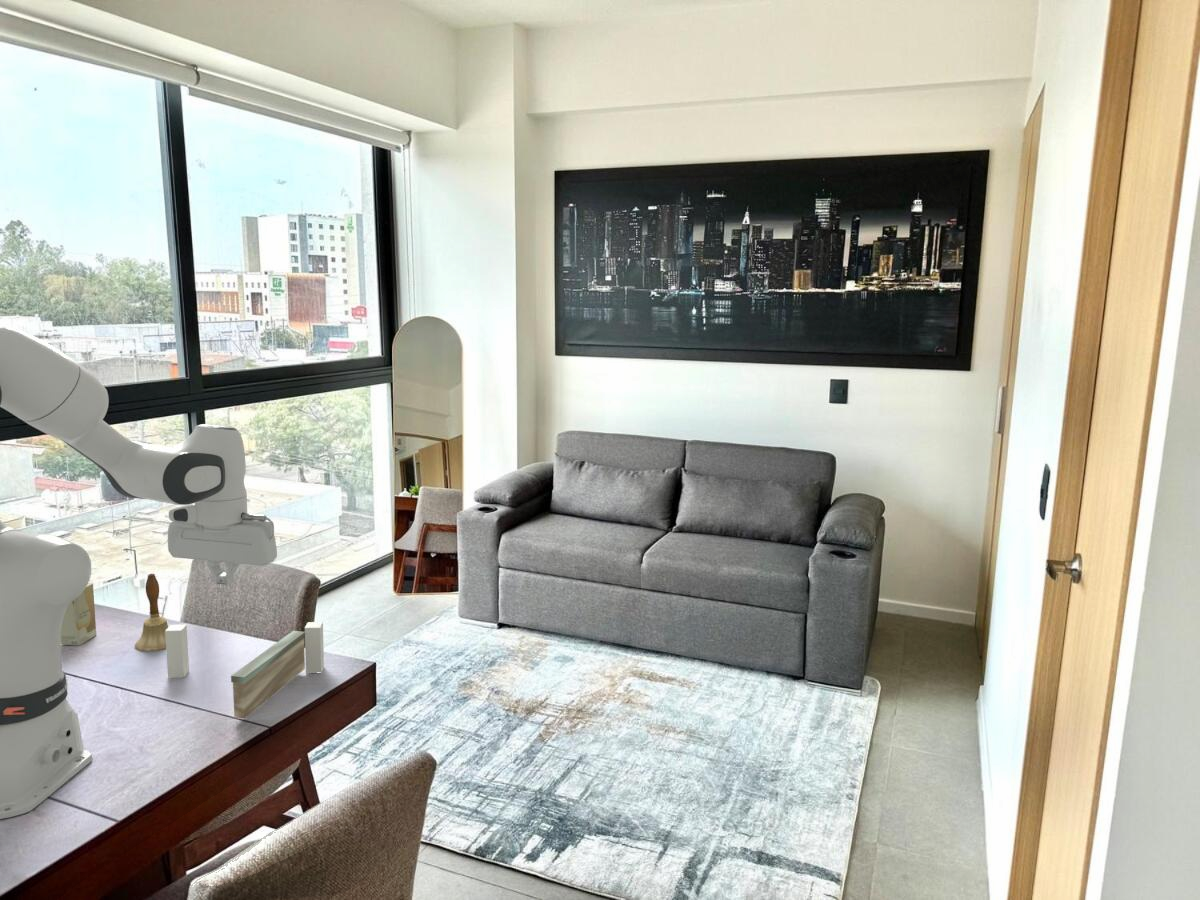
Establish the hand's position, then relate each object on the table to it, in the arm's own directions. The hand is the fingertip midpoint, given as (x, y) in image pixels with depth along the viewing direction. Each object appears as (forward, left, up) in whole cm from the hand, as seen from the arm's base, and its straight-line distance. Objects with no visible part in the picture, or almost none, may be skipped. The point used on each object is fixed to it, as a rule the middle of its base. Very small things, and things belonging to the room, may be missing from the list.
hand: (224, 583), depth 153 cm
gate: (0, -8, -22) cm, 23 cm away
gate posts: (+11, 0, -23) cm, 25 cm away
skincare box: (+30, +40, -23) cm, 55 cm away
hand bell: (+27, +23, -23) cm, 42 cm away
